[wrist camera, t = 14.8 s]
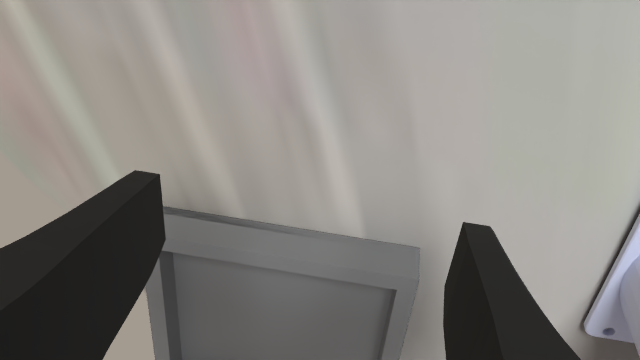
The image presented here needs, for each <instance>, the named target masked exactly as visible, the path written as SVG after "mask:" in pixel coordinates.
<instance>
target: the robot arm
mask: <svg viewBox="0 0 640 360" xmlns="http://www.w3.org/2000/svg"><path fill="white" fill-rule="evenodd" d="M165 240H166V235H165V225H164V214H163V204H162V193H161V183H160V174H155V173H149V172H143V171H136V170H135V171H133V172H132V173H130V174H128V175H126V176H125V177H123V178H122V179H120V180H118V181H117V182H115V183H114V184H112V185H111V186H109V187H108V188H106V189H104V190H103V191H101V192H100V193H98V194H97V195H95V196H93V197H92V198H90V199H89V200H87V201H85V202H84V203H82V204H81V205H79V206H77V207H76V208H74V209H73V210H71V211H69V212H68V213H66V214H64V215H63V216H61V217H59V218H57V219H56V220H54V221H52V222H50V223H49V224H47V225H45V226H43V227H42V228H40V229H38V230H36V231H34V232H32V233H31V234H29V235H27V236H25V237H23V238H21V239H19V240H17V241H15V242H13V243H11V244H9V245H7V246H5V247H3V248H0V360H102V359H103V358H104V356H105V354H106V352H107V350H108V348H109V347H110V345H111V343H112V342H113V340H114V338H115V336H116V335H117V333H118V331H119V330H120V328H121V326H122V324H123V323H124V321H125V319H126V318H127V316H128V314H129V313H130V311H131V309H132V308H133V306H134V304H135V303H136V301H137V299H138V297H139V295H140V294H141V292H142V290H143V289H144V287H145V285H146V283H147V282H148V280H149V278H150V276H151V274H152V272H153V270H154V267H155V265H156V263H157V260H158V258H159V256H160V253H161V250H162V248H163V245H164V243H165ZM443 327H444V339H445V350H446V360H581V359H580V358H579V357H578V356H577V355H576V354H575V352H574V351H573V350H572V349H571V348H570V347H569V345H568V344H567V343H566V342H565V341H564V340H563V338H562V337H561V336H560V334H559V333H558V332H557V331H556V329H555V328H554V327H553V325H552V324H551V323H550V321H549V320H548V318H547V317H546V316H545V314H544V313H543V312H542V310H541V309H540V307H539V306H538V304H537V303H536V301H535V300H534V298H533V297H532V295H531V294H530V292H529V291H528V289H527V288H526V286H525V285H524V283H523V281H522V280H521V278H520V277H519V275H518V273H517V272H516V270H515V268H514V267H513V265H512V263H511V262H510V260H509V258H508V256H507V255H506V253H505V251H504V249H503V248H502V246H501V244H500V242H499V240H498V238H497V237H496V235H495V233H494V231H493V230H492V228H491V227H490V226H485V225H478V224H472V223H466V222H463V224H462V228H461V231H460V235H459V238H458V242H457V245H456V248H455V252H454V255H453V259H452V262H451V266H450V269H449V273H448V276H447V280H446V283H445V290H444V318H443ZM584 328H585V331H586V333H587V334H589V335H591V336H595V337H600V338H606V339H612V340H618V341H624V342H630V343H634V344H635V346H636V349H637V352H638V354H639V357H640V214H639V216H638V218H637V220H636V222H635V224H634V226H633V228H632V230H631V232H630V233H629V235H628V237H627V239H626V241H625V243H624V245H623V247H622V249H621V251H620V253H619V255H618V257H617V259H616V261H615V263H614V265H613V267H612V269H611V271H610V273H609V275H608V276H607V278H606V280H605V282H604V284H603V286H602V288H601V290H600V292H599V294H598V296H597V298H596V300H595V302H594V304H593V306H592V308H591V310H590V312H589V314H588V316H587V318H586V319H585V321H584ZM605 328H609V329H605Z"/></svg>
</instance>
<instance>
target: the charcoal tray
mask: <svg viewBox="0 0 640 360" xmlns="http://www.w3.org/2000/svg"><path fill="white" fill-rule="evenodd" d="M163 214H164V225H165V235H166V240H165V243H164V245H163V248H162V250H161V253H160V256H159V258H158V260H157V263H156V265H155V267H154V270H153V272H152V274H151V276H150V278H149V280H148V282H147V283H146V292H147V300H148V308H149V315H150V323H151V331H152V339H153V346H154V354H155V360H399V358H400V354H401V350H402V346H403V342H404V338H405V334H406V330H407V326H408V322H409V318H410V314H411V310H412V306H413V302H414V298H415V294H416V290H417V286H418V282H419V260H420V248H416V247H410V246H404V245H398V244H392V243H385V242H379V241H373V240H367V239H361V238H355V237H348V236H342V235H336V234H330V233H324V232H318V231H311V230H305V229H299V228H293V227H287V226H281V225H274V224H268V223H262V222H256V221H250V220H244V219H238V218H231V217H225V216H219V215H213V214H207V213H201V212H194V211H188V210H182V209H176V208H170V207H164V206H163Z"/></svg>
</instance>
